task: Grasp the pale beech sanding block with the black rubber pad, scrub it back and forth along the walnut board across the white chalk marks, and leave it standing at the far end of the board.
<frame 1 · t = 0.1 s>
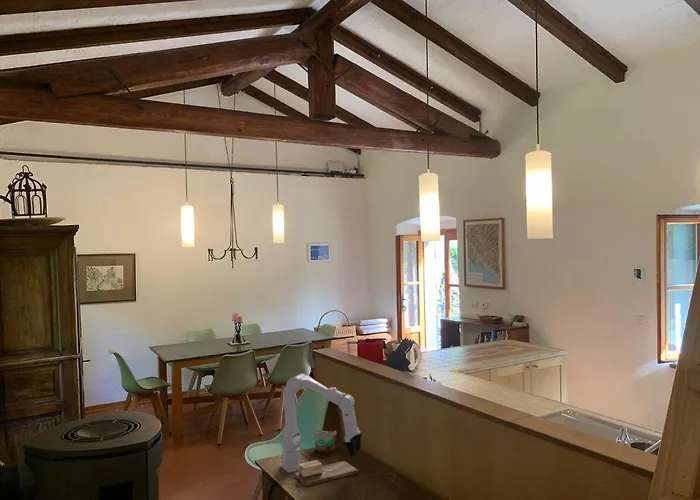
hand: (355, 453, 244), 11 cm above the table, tool pointing down, fingers open, 7 cm apart
food container: (323, 451, 277), on the table
sanding block: (310, 475, 243), point 2 cm above the table, touching walnut board
walnut board: (326, 474, 247), on the table
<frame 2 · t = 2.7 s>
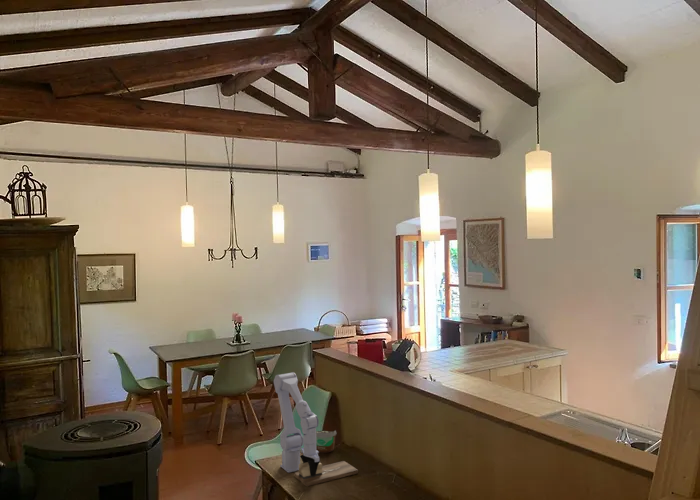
hand: (310, 473, 243), 2 cm above the table, tool pointing down, fingers closed on sanding block, 5 cm apart
sanding block: (310, 475, 243), point 2 cm above the table, touching gripper, walnut board
everything else where it was.
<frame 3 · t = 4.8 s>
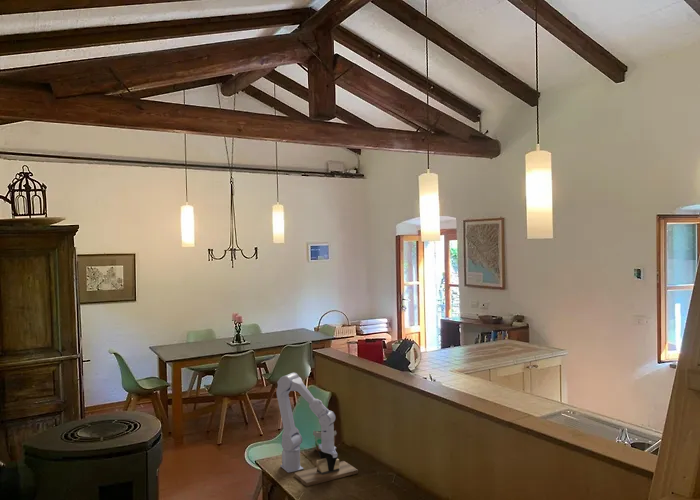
hand: (328, 468, 248), 2 cm above the table, tool pointing down, fingers closed on sanding block, 5 cm apart
sanding block: (328, 470, 248), point 2 cm above the table, touching gripper
everything else where it was.
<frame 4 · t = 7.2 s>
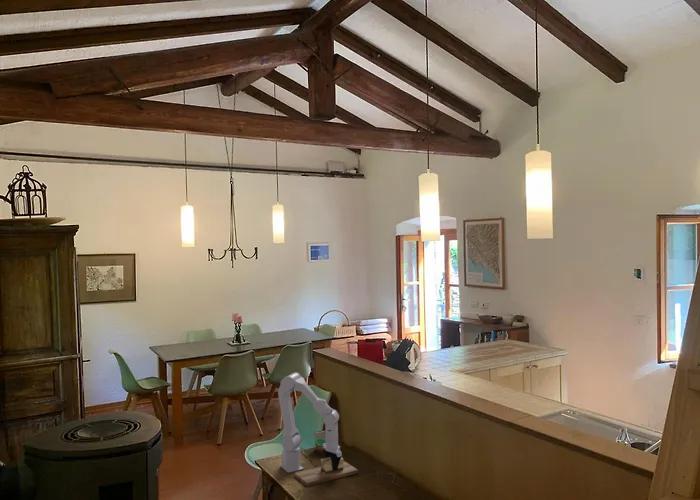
hand: (332, 467, 249), 2 cm above the table, tool pointing down, fingers closed on sanding block, 5 cm apart
sanding block: (332, 469, 249), point 2 cm above the table, touching gripper
everything else where it was.
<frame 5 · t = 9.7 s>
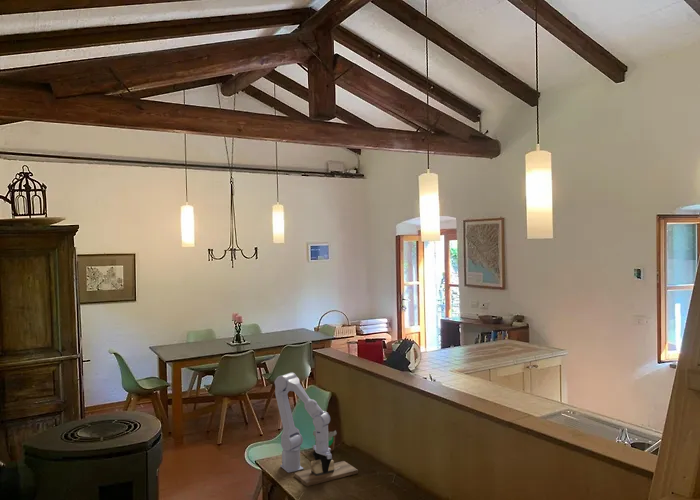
hand: (322, 470, 246), 2 cm above the table, tool pointing down, fingers closed on sanding block, 5 cm apart
sanding block: (322, 472, 246), point 2 cm above the table, touching gripper
everything else where it was.
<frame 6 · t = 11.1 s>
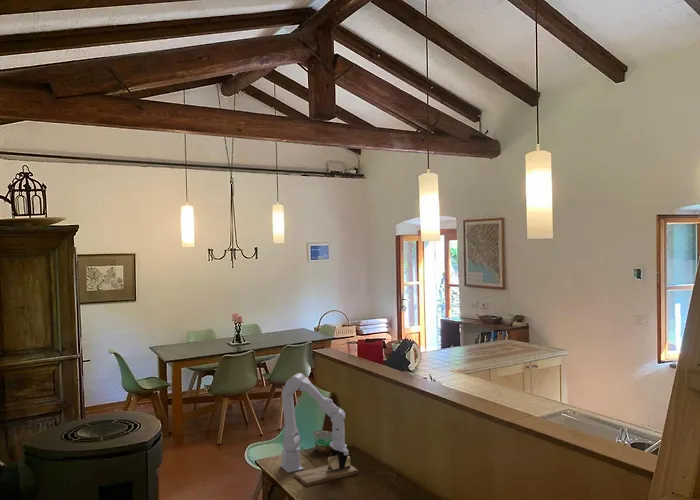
hand: (339, 466, 251), 2 cm above the table, tool pointing down, fingers closed on sanding block, 5 cm apart
sanding block: (339, 468, 251), point 2 cm above the table, touching gripper
everything else where it was.
when the fingers open (2 cm above the table, at t = 11.7 s): sanding block stays where it is, resting on walnut board.
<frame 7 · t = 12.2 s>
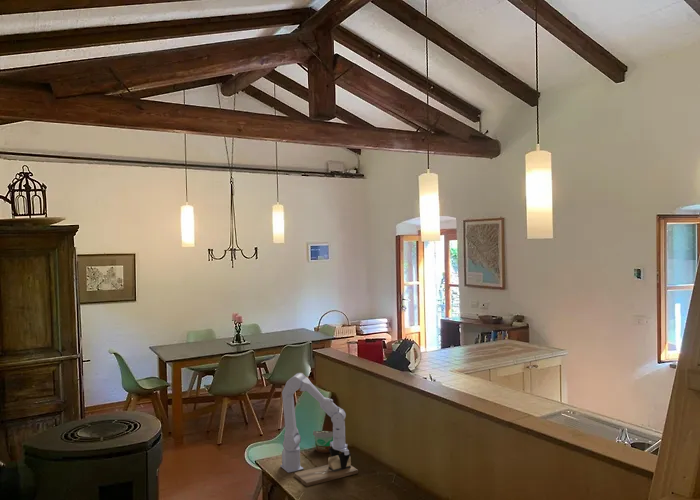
hand: (339, 466, 251), 2 cm above the table, tool pointing down, fingers open, 7 cm apart
sanding block: (339, 468, 251), point 2 cm above the table, touching walnut board
everything else where it was.
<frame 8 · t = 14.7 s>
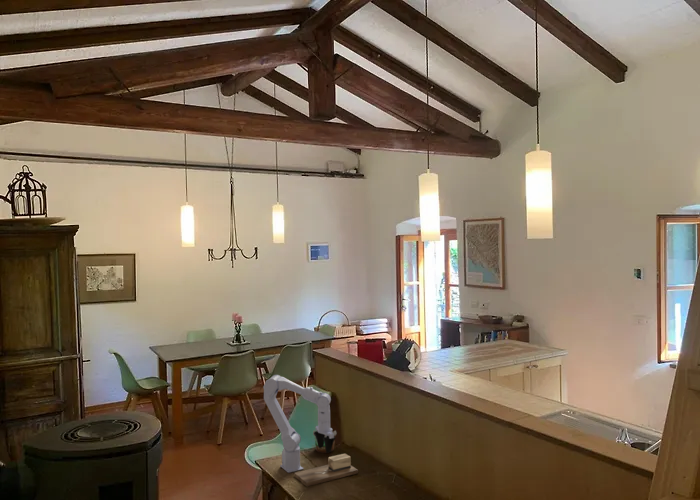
hand: (324, 449, 253), 9 cm above the table, tool pointing down, fingers open, 7 cm apart
nothing on the table moved.
at the end: sanding block 0.2 cm from the target spot on the walnut board, point 1.5 cm above the walnut board's base; sanding block tilted 0°; the gripper is holding nothing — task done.
